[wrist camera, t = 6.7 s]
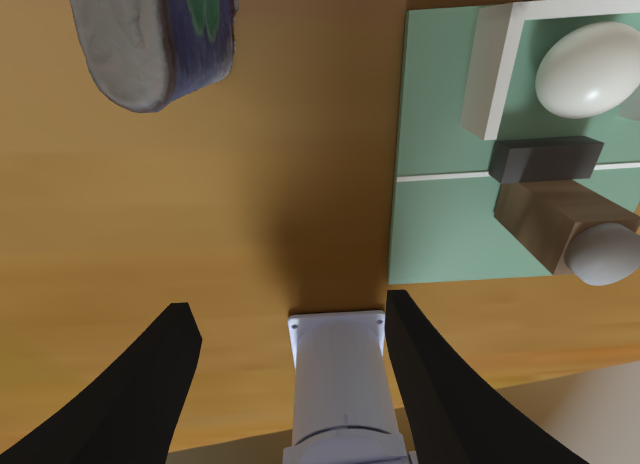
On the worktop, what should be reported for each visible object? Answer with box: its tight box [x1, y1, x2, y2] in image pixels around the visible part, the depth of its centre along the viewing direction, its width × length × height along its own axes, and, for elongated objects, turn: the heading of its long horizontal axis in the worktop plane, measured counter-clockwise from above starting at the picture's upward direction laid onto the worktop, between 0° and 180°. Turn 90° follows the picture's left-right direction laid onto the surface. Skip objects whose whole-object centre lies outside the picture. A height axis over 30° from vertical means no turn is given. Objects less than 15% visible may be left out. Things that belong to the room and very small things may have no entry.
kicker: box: [488, 136, 640, 285], centre depth 16 cm, size 5×5×7 cm
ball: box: [535, 21, 640, 119], centre depth 15 cm, size 4×4×4 cm
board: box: [387, 4, 640, 285], centre depth 20 cm, size 17×16×1 cm
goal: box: [459, 0, 640, 140], centre depth 15 cm, size 5×9×3 cm, turn 93°
